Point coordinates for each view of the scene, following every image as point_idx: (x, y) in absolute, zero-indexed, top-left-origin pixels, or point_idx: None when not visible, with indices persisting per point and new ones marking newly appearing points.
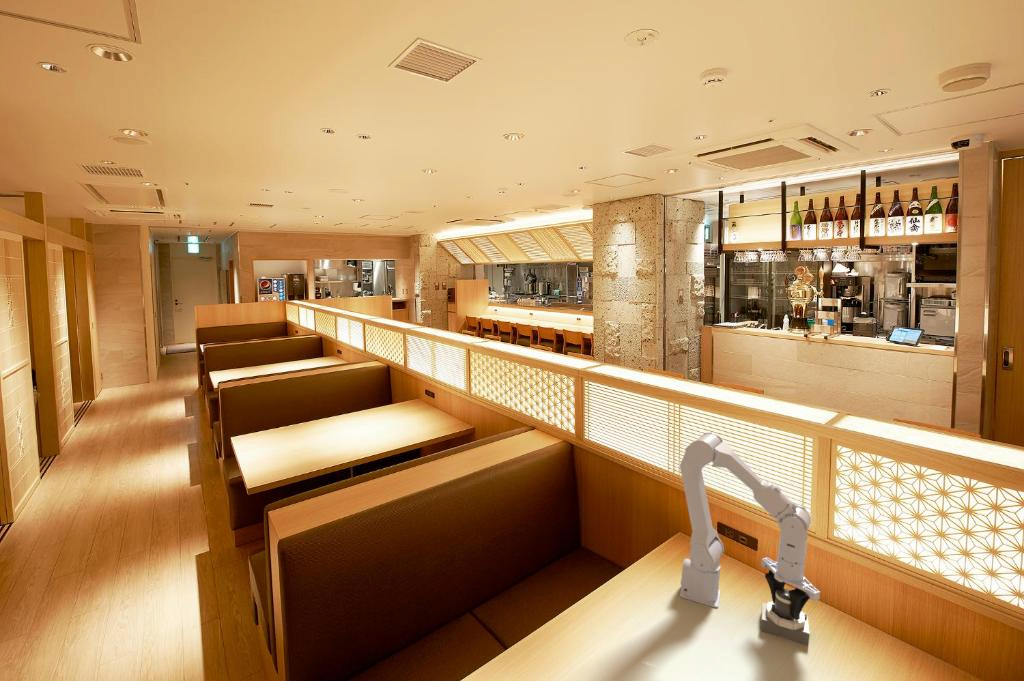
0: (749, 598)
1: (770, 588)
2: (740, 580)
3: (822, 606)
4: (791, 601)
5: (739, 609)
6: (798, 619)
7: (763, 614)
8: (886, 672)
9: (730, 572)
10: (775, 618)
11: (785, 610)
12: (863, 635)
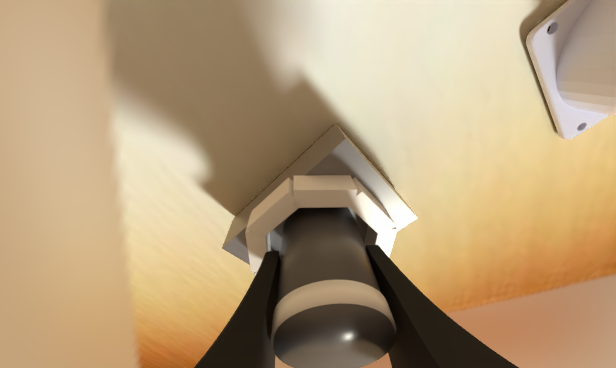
0: (463, 209)
1: (429, 305)
2: (525, 240)
3: None
4: (254, 334)
5: (454, 136)
6: None
7: (365, 169)
8: (132, 303)
9: (566, 239)
10: (305, 186)
11: (292, 253)
12: None
